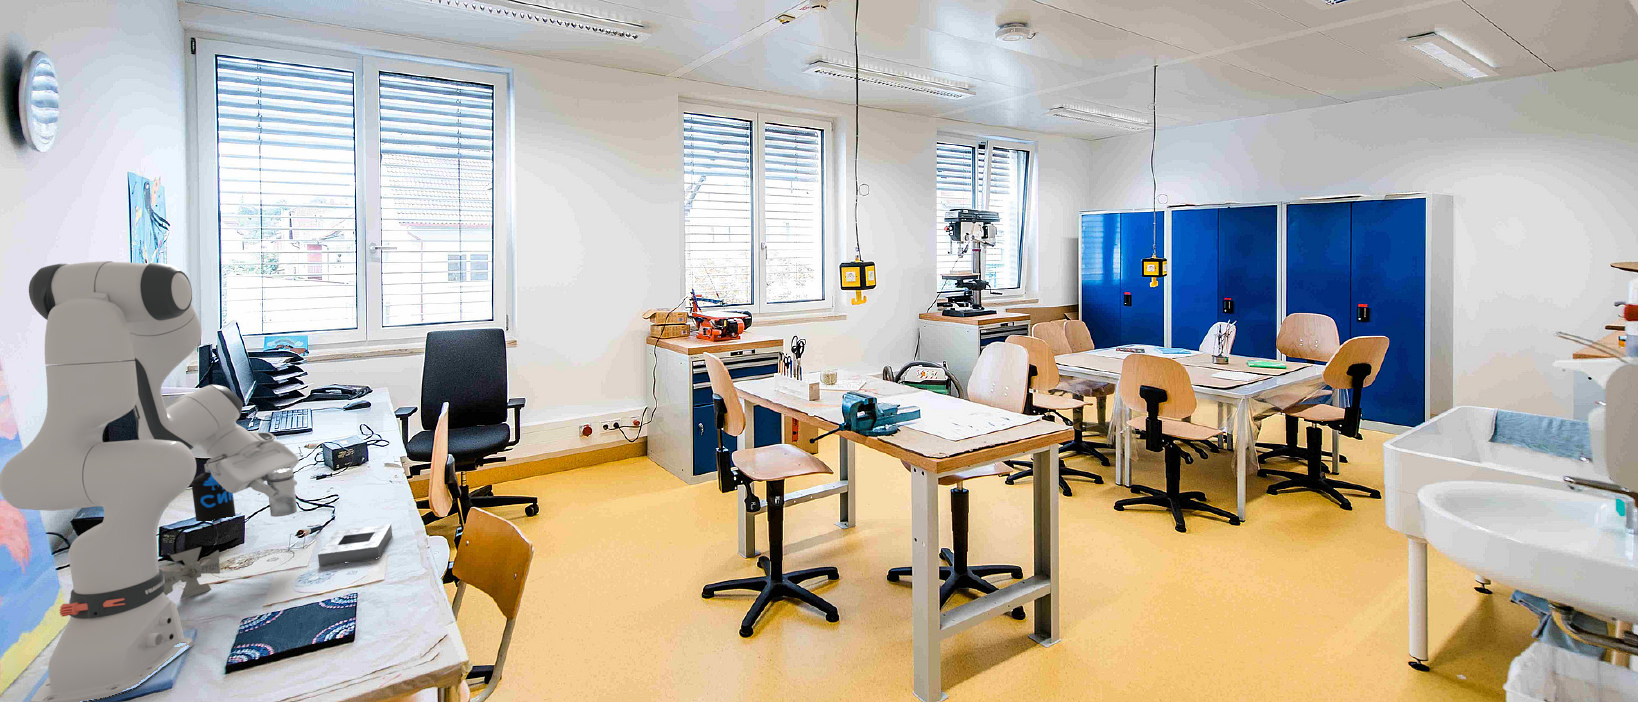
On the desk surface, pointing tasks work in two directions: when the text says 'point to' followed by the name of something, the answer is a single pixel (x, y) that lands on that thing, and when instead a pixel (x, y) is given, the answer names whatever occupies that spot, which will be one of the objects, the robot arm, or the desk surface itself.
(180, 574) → the cross
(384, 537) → the grey rectangular frame
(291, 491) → the cylinder
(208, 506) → the aerosol can
